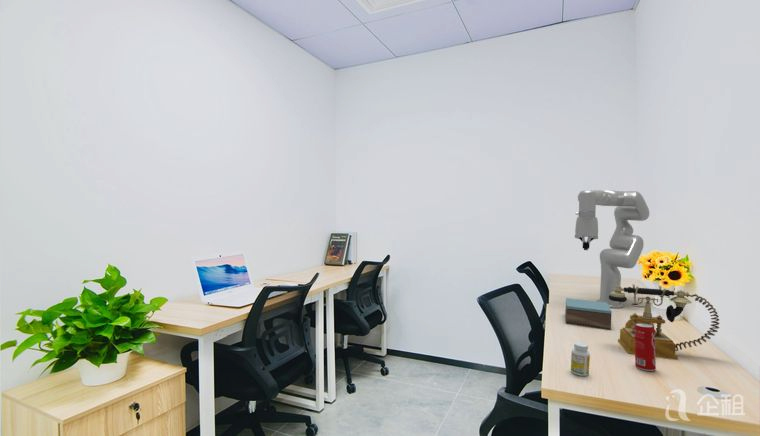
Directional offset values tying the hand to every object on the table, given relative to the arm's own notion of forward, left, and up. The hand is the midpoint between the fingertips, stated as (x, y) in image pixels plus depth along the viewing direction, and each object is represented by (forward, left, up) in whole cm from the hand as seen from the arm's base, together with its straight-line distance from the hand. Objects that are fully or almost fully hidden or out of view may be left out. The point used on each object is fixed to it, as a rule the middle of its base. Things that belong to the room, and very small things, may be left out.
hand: (585, 249), depth 195 cm
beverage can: (+44, +53, -33) cm, 76 cm away
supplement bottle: (+68, +46, -33) cm, 88 cm away
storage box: (+14, +12, -33) cm, 37 cm away
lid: (+14, +12, -25) cm, 31 cm away
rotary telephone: (+21, +45, -33) cm, 59 cm away
